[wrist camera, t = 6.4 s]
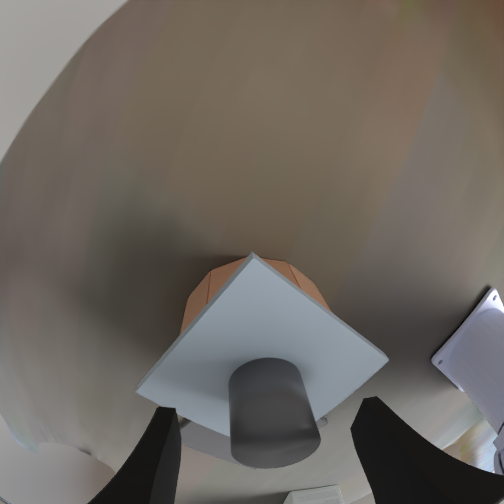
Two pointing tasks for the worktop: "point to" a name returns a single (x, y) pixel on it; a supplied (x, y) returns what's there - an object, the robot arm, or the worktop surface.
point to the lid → (262, 367)
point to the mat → (214, 440)
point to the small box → (316, 496)
